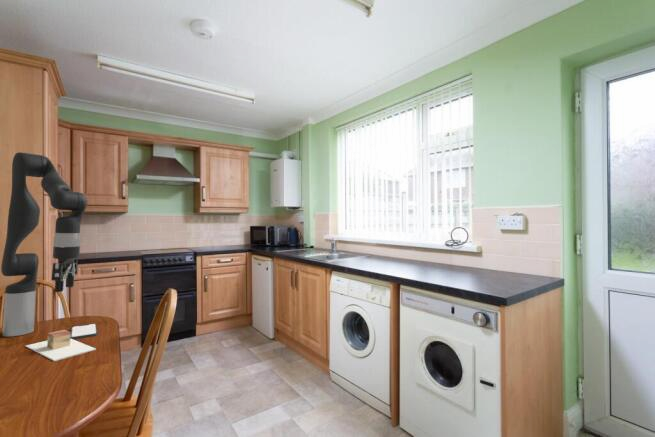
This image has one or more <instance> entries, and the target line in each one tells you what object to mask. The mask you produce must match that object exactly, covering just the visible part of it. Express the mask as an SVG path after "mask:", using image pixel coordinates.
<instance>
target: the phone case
mask: <svg viewBox="0 0 655 437" xmlns="http://www.w3.org/2000/svg"><path fill="white" fill-rule="evenodd" d="M70 332H71V335H70V338H71V339H73V340H77V339H84V338H90V337H96V336H98V326H97V324H96V323H92V324H91V323H90V324H83V325H75V326H72V327H71V330H70Z"/></svg>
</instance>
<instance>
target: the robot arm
mask: <svg viewBox="0 0 655 437" xmlns="http://www.w3.org/2000/svg"><path fill="white" fill-rule="evenodd" d="M11 165H12V166H11V194H10V200H9V202H10V203H9V208H8V215H7V216H8V217H7V227H6V228H7V229H6V237H5V238H6V240H5V245H4V249H3V254H2V260H1V263H0V264H1V266H0V267H1V269H0V271H1V274H2V275H3V276H4V277H16V276H18V277H19V276H21V277H22V276H24V277H23V278H22V279H20V280H19V281H16V282H14V283H10V284H8V285H6V286H5V289H4V290H5V291H4V292H5V293H4V306H3V309H4V310H3V320H2V321H3V325H2V336H3V337H17V336H23V335H27V334H31V333H33V332H34V330H35V329H34V328H35V314H36V313H35V311H36V295H37V294H36V291H37V279H38V270H39V263H40V262H39V260H40V259H39V256H38V254H37V253H35V252H34V253H33V252H28V253H27V252H26V253H17V250H18V248H19V247H20V245H21V243H22V242H23V241H24V240H25V239H26V238H27V237H28V236H29V235H30V234H32V232H33V231H35V230H36V228H37V227H38V225H39V223H40V214H41V208H40V205H39V204H38V203H37V202H38V201H36V200H35V197H34V196H33V195H32V193H31V192H30V191H29V189H28V186H27V177H32V178H33V177H34V178H41V180H40V186H41V187H42V189H43V191H44V192H45V193H46V194H47V195H48V196H49V200H50V202H49V203H50V205H51V207H52V208H54V209H55V210H59V211H71V212H70V214H69V215H66V216H60V217H57V218H56V219H55V228H54V229H55V230H54V237H53V247H52V248H53V249H52V258H53V259H56V260H58V261H57V262H54V263H52V271H51V281H53V282H54V292H55V293H61V292H63V291H64V287H66V288H74V284H75V277H76V275H77V274H78V269H79V268H78V267H79V265H78V264H79V263H78V262H79V260H78V258H79V257H80V253H81V252H80V251H81V250H80V249H81V221H82V219H83V216H84V214H85V211H86V208H87V206H88V203H89V202H88V197H87V196H86V194H84V193H82V192H78V191H77V192H76V191H72V188H71V187H70V185H68V183H67V182H66V181H65V180H63V179H62V177H61V176H60V175H59V173H58V170H57V169H56V167H55V165H54V164H53V162H52V161H51V159H50V158H49V157H47V156H45V155H42V154H41V155H40V154H34V153H28V152H20V151H19V152H16V153H15V154H14V155H13V158H12V164H11ZM65 277H66V278H65ZM65 279H66V280H65ZM64 282H65V286H64Z"/></svg>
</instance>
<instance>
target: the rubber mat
mask: <svg viewBox="0 0 655 437" xmlns="http://www.w3.org/2000/svg"><path fill="white" fill-rule="evenodd" d="M47 343H48V340H45V341H44V340H43V341H40V342H36V343H31V344H26V345H25V347H26V348H27V349H30V350H31V351H34V352H35V353H37V354H40V356H42V357H45V358H47V359H49V360H51V361H53V362H58V361H60V360H65V359H67V358H72V357H75V356H78V355H79V356H80V355H82V354H86V353H89V352H93V351H96V350H97V348H96V347H93V346H91V345H88V344H86V343H83V342H80V341H77V339H71V338H70V346H66V347H62V348H58V349H54V350H52V349H50V348H48V347H47Z"/></svg>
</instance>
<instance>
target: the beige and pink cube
mask: <svg viewBox="0 0 655 437" xmlns="http://www.w3.org/2000/svg"><path fill="white" fill-rule="evenodd" d="M70 336H71V330H70V331H69V330H66V329H62V330H61V329H60V330H57V331H53V332H48V333H47V341H48V343H47V347H48V348H50V349H52V350H54V349H58V348H62V347H66V346H70Z"/></svg>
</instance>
